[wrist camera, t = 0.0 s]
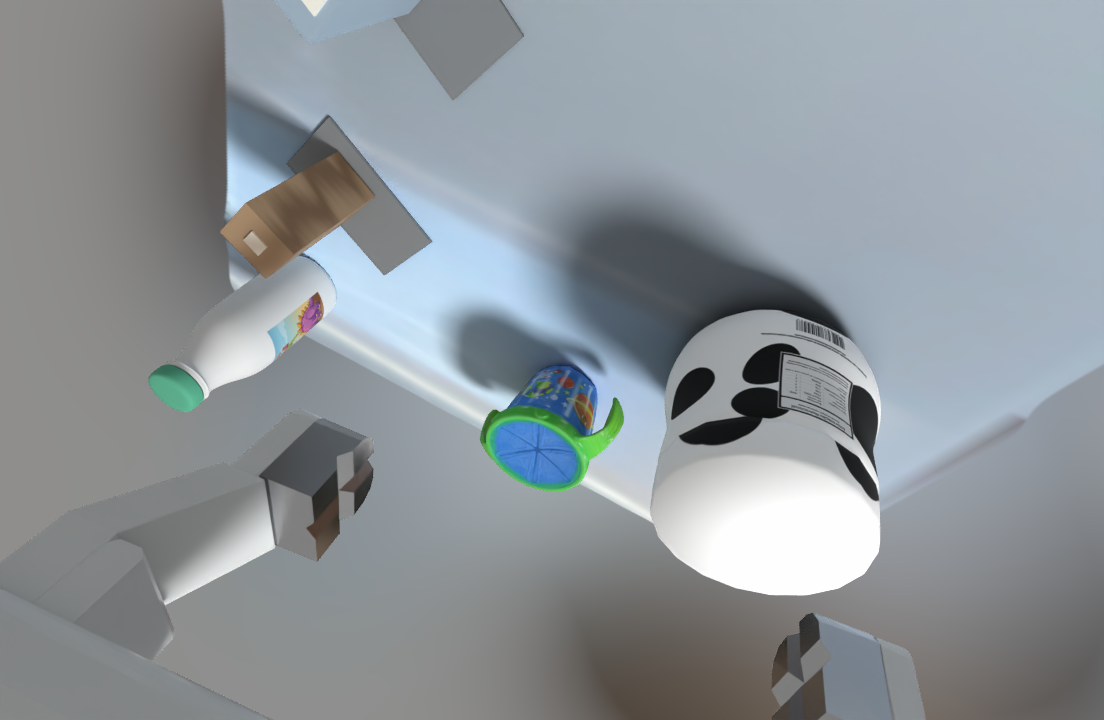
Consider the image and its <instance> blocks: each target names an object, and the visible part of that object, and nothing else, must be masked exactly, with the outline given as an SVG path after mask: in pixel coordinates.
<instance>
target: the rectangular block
mask: <svg viewBox="0 0 1104 720" xmlns="http://www.w3.org/2000/svg"><path fill="white" fill-rule="evenodd" d="M274 1H275V2H276V4H277V5H278V6H279V8H280V9H281V10H282V11H283V13H284V14H285V15H286V16H287V18H288V19H289V20H290V21H291V23H292V24H293V25H294V27H295V28H296V29H297V30H298V32H299V33H300V34H301V35H302V37H303V38H304V39H305V40H306V42H307V43H308V44H311V43H315V42H318V41H321V40H325V39H328V38H331V37H334V36H338V35H341V34H344V33H347V32H351V31H354V30H357V29H360V28H364V27H367V26H370V25H373V24H377V23H380V22H383V21H386V20H390V19H393V18H396V17H399V16H403V15H406V14H409V13H410V12H411V11H412V9H413V8H414V7H415V6H416V5H417V4H418V3H419V2H420V0H274Z"/></svg>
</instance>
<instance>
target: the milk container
mask: <svg viewBox="0 0 1104 720" xmlns="http://www.w3.org/2000/svg"><path fill="white" fill-rule="evenodd" d="M665 415H666V423H667V430H666V434H665V437H664V441H663V444H662V447H661V451H660V454H659V458H658V465H657V469H656V474H655V479H654V485H653V490H652V498H651V507H650V509H651V517H652V520H653V523H654V526H655V529H656V531H657V534H658V537H659V538H660V539H661V540H662V541H663V543H664V544H665V545H666V546H667V547H668V548H669V549H670V550H671V552H672V553H673V554H674V555H675V556H676V557H677V558H678V559H680V560H681V561H683V562H684V563H686V564H687V565H689V566H690V567H692V568H693V569H695V570H696V571H698V572H699V573H701V574H702V575H705V576H707V577H709V578H712V579H714V580H717V581H719V582H722V583H724V584H727V585H729V586H732V587H734V588H739V589H744V590H749V591H754V592H759V593H764V594H769V595H809V594H814V593H818V592H823V591H828V590H832V589H837V588H840V587H842V586H843V585H845V584H847V583H849V582H850V581H852V580H854V579H856V578H857V577H859V576H861V575H863V574H864V573H865V572H866V570H867V569H868V567H869V566H870V564H871V563H872V561H873V560H874V558H875V557H876V555H877V554H878V551H879V545H880V510H879V484H878V477H877V471H876V466H875V460H874V455H873V447H874V444H875V441H876V438H877V434H878V430H879V426H880V420H881V403H880V396H879V391H878V386H877V383H876V381H875V378H874V375H873V373H872V371H871V369H870V367H869V365H868V363H867V361H866V359H865V357H864V356H863V354H862V353H861V351H860V350H859V349H858V347H857V346H856V345H855V344H854V343H853V342H852V341H851V340H850V339H849V338H848V337H847V336H845V335H844V334H843V333H842V332H840V331H839V330H837V329H836V328H834V327H832V326H831V325H829V324H827V323H826V322H823V321H821V320H819V319H816V318H813V317H810V316H807V315H804V314H801V313H797V312H793V311H787V310H767V309H761V310H751V311H746V312H742V313H738V314H734V315H730V316H727V317H724V318H722V319H720V320H718V321H716V322H714V323H712V324H710V325H709V326H707V327H705V328H704V329H702V330H701V331H700V332H698V333H697V334H696V335H695V336H694V337H693V338H692V339H691V340H690V341H689V342H688V343H687V345H686V346H685V347H684V349H683V350H682V352H681V353H680V355H679V356H678V358H677V360H676V362H675V364H674V366H673V368H672V370H671V373H670V375H669V378H668V382H667V386H666V393H665Z"/></svg>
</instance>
